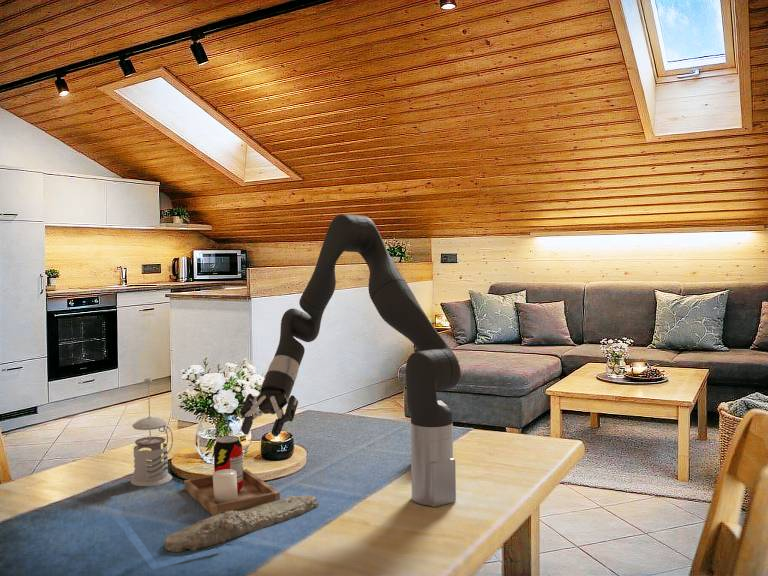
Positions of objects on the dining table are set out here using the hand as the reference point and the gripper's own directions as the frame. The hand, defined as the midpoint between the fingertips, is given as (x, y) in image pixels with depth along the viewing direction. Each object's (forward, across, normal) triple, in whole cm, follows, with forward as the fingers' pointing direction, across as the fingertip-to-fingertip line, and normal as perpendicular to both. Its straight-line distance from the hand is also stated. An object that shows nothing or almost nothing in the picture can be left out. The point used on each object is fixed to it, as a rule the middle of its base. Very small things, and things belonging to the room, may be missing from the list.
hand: (259, 434), depth 178 cm
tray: (+18, +1, -3) cm, 18 cm away
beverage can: (+16, -1, -2) cm, 16 cm away
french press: (+14, -25, 0) cm, 29 cm away
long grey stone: (+28, +15, -12) cm, 33 cm away
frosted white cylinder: (+21, +4, -8) cm, 23 cm away
